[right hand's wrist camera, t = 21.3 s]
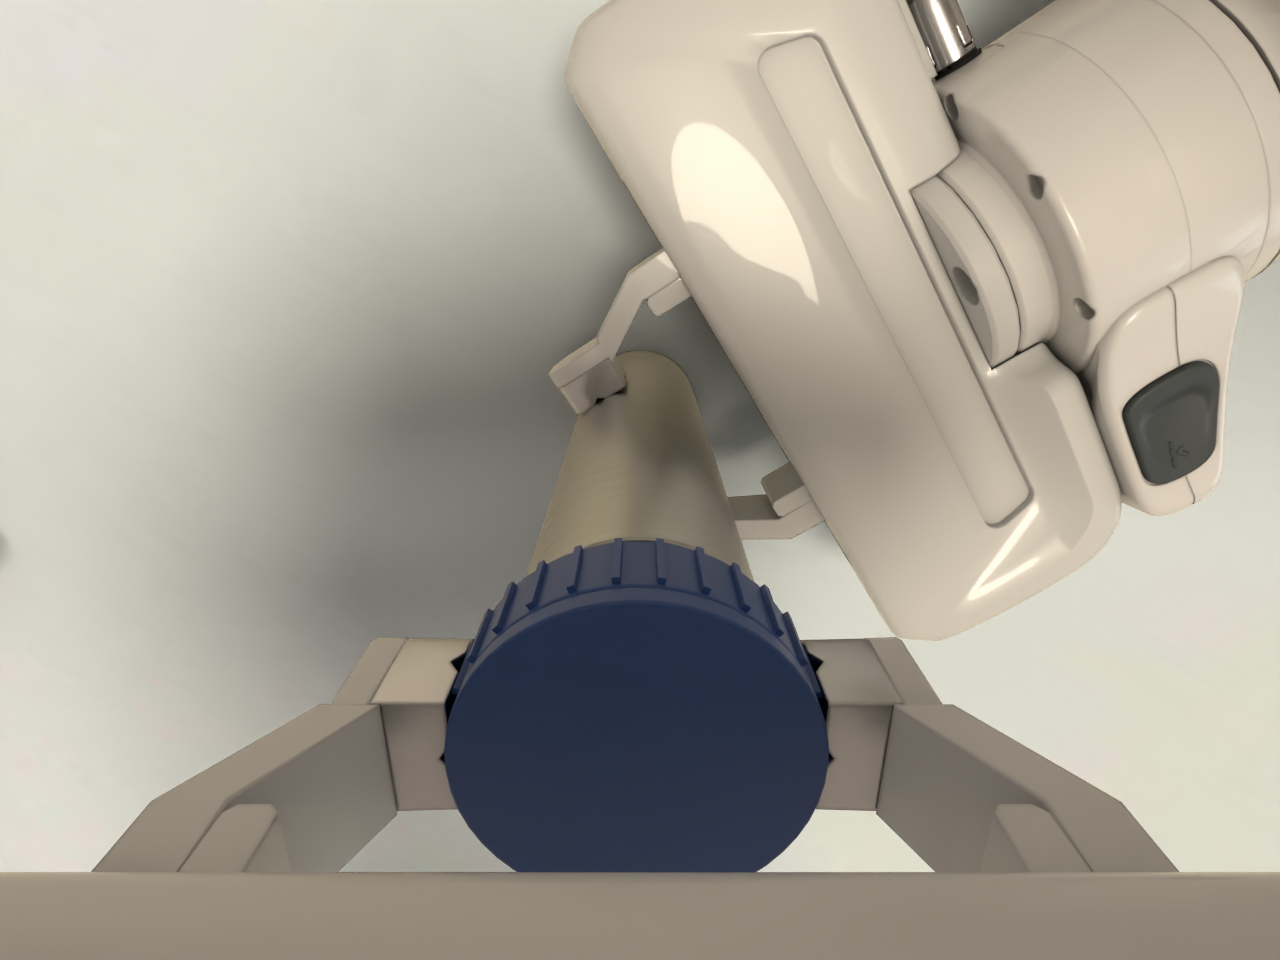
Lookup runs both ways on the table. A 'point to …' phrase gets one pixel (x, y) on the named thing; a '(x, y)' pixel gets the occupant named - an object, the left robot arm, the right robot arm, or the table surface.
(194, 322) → the table surface
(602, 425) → the tan tube
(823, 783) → the lid
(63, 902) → the right robot arm
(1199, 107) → the left robot arm
